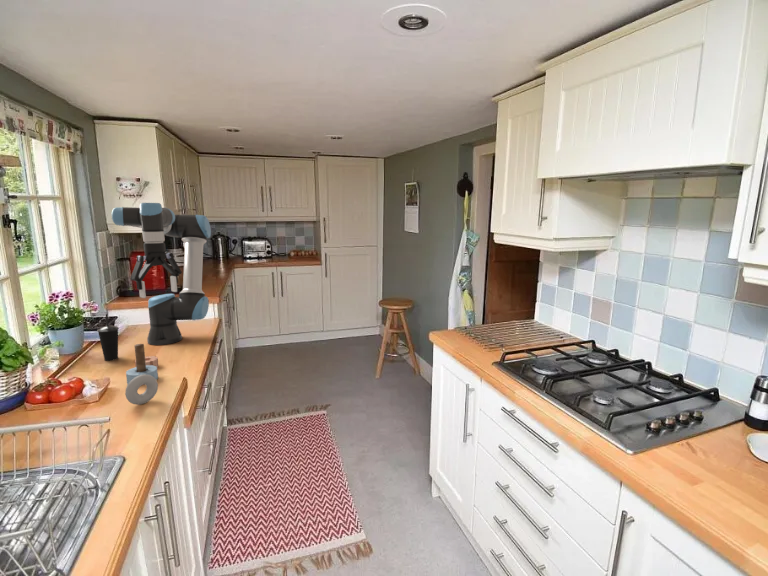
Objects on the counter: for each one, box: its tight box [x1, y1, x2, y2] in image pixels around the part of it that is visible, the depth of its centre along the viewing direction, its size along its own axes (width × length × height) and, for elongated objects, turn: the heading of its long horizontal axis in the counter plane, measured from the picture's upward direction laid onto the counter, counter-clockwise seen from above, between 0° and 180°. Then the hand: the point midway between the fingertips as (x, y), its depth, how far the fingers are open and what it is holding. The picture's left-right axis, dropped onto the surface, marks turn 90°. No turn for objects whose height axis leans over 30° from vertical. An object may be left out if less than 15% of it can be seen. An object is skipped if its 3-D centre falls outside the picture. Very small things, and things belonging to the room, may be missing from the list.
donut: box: [124, 374, 159, 406], centre depth 132 cm, size 10×4×10 cm, turn 148°
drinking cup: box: [96, 313, 120, 362], centre depth 171 cm, size 8×8×20 cm
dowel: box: [134, 343, 146, 372], centre depth 150 cm, size 3×3×14 cm
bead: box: [134, 355, 159, 368], centre depth 164 cm, size 8×8×4 cm
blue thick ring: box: [125, 365, 159, 385], centre depth 151 cm, size 10×10×4 cm
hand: (159, 294), depth 162 cm, fingers open, 13 cm apart
